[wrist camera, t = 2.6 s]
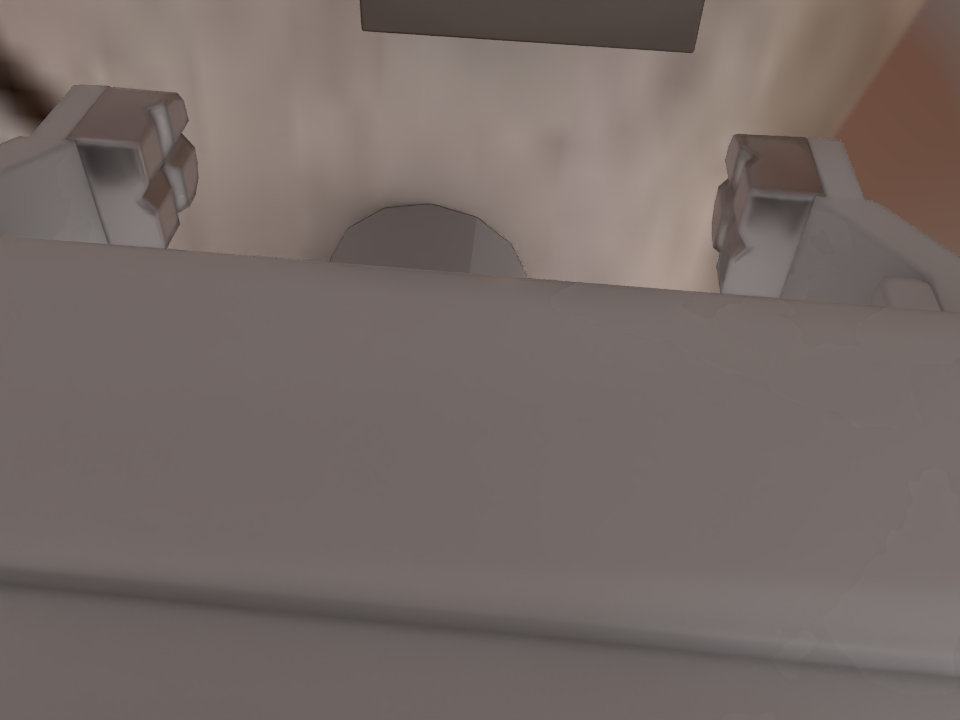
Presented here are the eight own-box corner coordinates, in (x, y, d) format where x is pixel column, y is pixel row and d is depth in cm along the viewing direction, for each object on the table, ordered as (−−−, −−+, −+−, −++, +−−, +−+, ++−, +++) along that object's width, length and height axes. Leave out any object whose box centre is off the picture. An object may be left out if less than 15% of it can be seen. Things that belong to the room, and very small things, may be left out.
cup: (409, 379, 42) (375, 564, 35) (289, 261, 38) (222, 446, 31) (564, 310, 39) (560, 502, 32) (451, 170, 34) (417, 358, 27)
